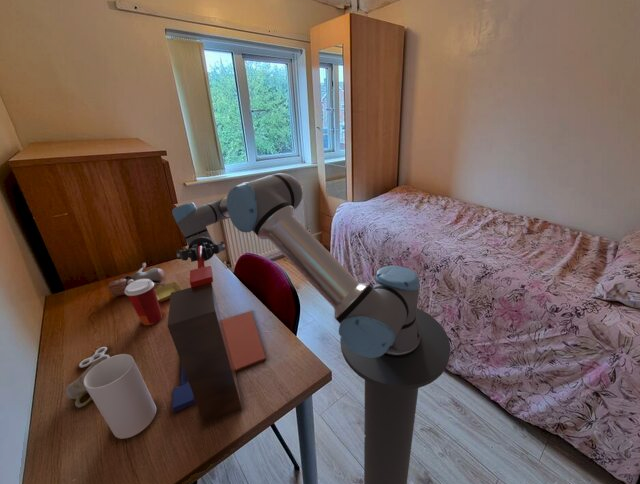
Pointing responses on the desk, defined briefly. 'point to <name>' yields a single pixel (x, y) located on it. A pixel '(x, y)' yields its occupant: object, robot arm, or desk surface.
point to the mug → (81, 386)
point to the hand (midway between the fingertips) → (199, 254)
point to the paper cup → (144, 300)
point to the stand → (204, 351)
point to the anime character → (120, 285)
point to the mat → (243, 340)
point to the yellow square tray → (166, 291)
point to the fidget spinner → (94, 357)
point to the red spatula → (201, 272)
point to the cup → (121, 395)
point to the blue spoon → (182, 394)
